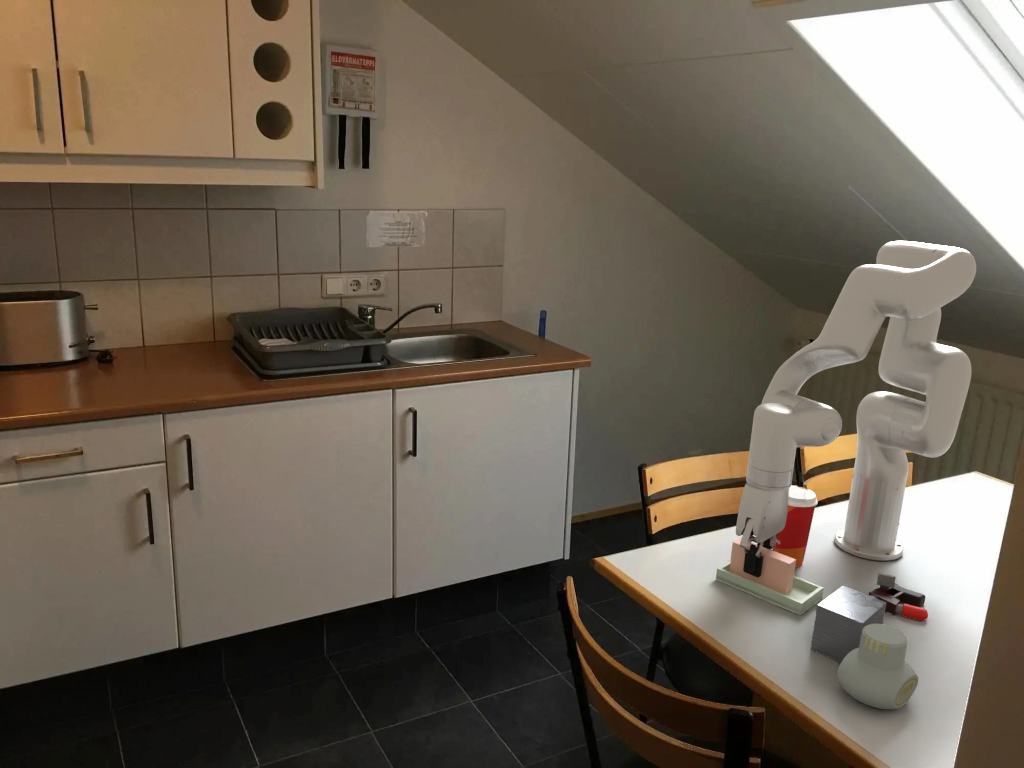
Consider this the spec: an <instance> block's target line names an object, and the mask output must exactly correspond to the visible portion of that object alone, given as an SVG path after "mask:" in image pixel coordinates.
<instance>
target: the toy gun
mask: <svg viewBox="0 0 1024 768" xmlns="http://www.w3.org/2000/svg"><path fill="white" fill-rule="evenodd" d="M896 579H897V578H896V576H895V575H892V574H887V573H882V572H878V574H877V579H876V580H877V581H876V585H878V586H879V587H877V588H875V589H872V590H871V591H869V592H868V594H867V595H868V596H871V597H874V598H876V599H879V600H881V601H884V602H887V603H886V609H885V613H888V614H890V615H892V616H896V614H897V613H898V614H901V616H902V617H905V618H909V619H914V620H917V621H926V620H927V619H928V618H929V617H928V616H929V612H928V610H927V609H925V608H924V607H922V606H924V605H925V601H926V595H925V594H923V593H920V592H917V591H914V590H912V589H907V588H905V587H904V586H900V585H899V584H898V583H896ZM902 603H903V604H902Z"/></svg>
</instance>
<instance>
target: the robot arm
mask: <svg viewBox="0 0 1024 768" xmlns="http://www.w3.org/2000/svg"><path fill="white" fill-rule="evenodd" d="M875 260H876V261H875V264H872V263H871V264H870V263H869V264H862V265H860V266H857V267H855V268H854V269H853V270H852V271H851V272H850V274H849V275H848V277H847V278H846V281H845V284H844V285H843V287H842V289H841V291H840V293H839V295H838V297H837V299H836V300H835V301H836V302H835V304H834V306H833V308H832V309H831V311H830V314H829V315H828V318H827V319H826V322H825V323H824V326H823V328H822V330H821V332H820V334H819V335H818V337H817V338H816V339H815V340H814V341H812V342H811V343H809V344H807V345H805V346H803V347H802V348H801V349H800V350H797V351H796V352H795V353H794V354H793V355H792V356H790V357H789V358H788V359H786V360H785V361H784V362H783V363H782V364H781V365H780V366H779V368H778V369H777V370H776V371H775V374H774V375H773V377H772V379H771V381H770V382H769V385H768V387H767V389H766V391H765V393H764V396H763V398H762V401H761V404H759V405H758V406H757V407H756V408H755V409H754V412H753V419H752V429H751V436H750V444H749V451H748V461H747V469H746V476H745V477H746V479H745V481H746V483H745V485H744V488H743V491H742V494H741V498H740V503H739V508H738V512H737V518H736V519H737V520H736V526H735V535H736V536H738V537H741V536H742V537H741V542H740V547H742V548H744V552H745V559H744V567H743V571H744V572H745V573H748V574H750V575H753V576H755V577H760V576H761V571H762V563H763V556H761V554H762V549H763V547H764V548H767V549H770V550H772V551H774V550H773V549H774V548H775V545H776V538H777V535H778V533H779V532H780V531H782V530H783V529H784V527H785V524H786V519H787V512H788V501H789V488H790V487H791V485H792V483H793V482H792V481H793V474H794V466H795V458H796V453H797V449H798V448H799V447H806V448H818V447H824V446H828V445H829V444H831V443H833V442H834V441H835V440H837V438H838V437H839V435H840V434H841V432H842V428H843V420H842V417H841V414H840V413H839V412H838V411H837V410H836V409H835V408H834V407H832V406H831V405H828V404H825V403H823V402H819V401H817V400H812V399H811V398H807V397H804V396H801V395H798V393H799V392H800V390H801V388H802V386H803V385H804V384H805V383H806V381H808V380H809V379H811V378H812V376H814V375H816V374H817V373H819V372H822V371H824V370H827V369H831V368H834V367H839V366H844V365H850V364H854V363H857V362H861V361H863V360H864V359H866V357H867V355H868V353H869V351H870V349H871V348H872V345H873V343H874V341H875V338H876V336H877V335H878V333H879V331H880V329H881V327H882V325H883V323H884V321H885V319H886V318H887V317H889V321H888V325H887V330H886V333H885V338H884V340H883V341H884V342H883V345H882V349H881V353H880V356H879V362H878V368H877V369H878V376H879V378H880V379H881V380H882V381H883V382H885V383H886V384H889V385H891V386H895V387H897V388H901V389H905V390H908V391H911V392H915V393H919V394H921V395H924V396H925V397H926V398H925V401H922V400H919V399H916V398H913V397H909V396H906V395H903V394H900V393H897V392H896V393H895V392H890V391H882V390H881V391H874V392H871V393H868V394H866V395H865V396H864V397H863V398H862V400H861V401H860V402H859V404H858V407H857V410H856V417H855V418H856V419H855V420H856V437H857V438H856V439H857V440H856V442H857V445H856V454H855V461H854V467H853V473H852V479H851V485H850V493H849V499H848V504H847V505H848V506H847V512H846V518H845V523H844V528H842V529H840V530H837V532H836V533H835V534H834V542H835V544H836V545H837V546H838V548H840V549H841V550H842V551H844V552H846V553H848V554H850V555H853V556H856V557H858V558H863V559H866V560H871V561H883V562H885V561H893V560H894V561H895V560H896V559H899V558H901V557H902V556H903V552H904V546H903V544H902V543H901V542H900V541H899V540H898V539H897V536H898V532H899V526H900V519H901V518H900V517H901V514H902V507H903V501H904V496H905V490H906V484H907V481H908V480H907V479H908V474H909V462H908V456H907V453H906V451H907V452H911V453H914V454H916V455H920V456H923V457H927V458H938V457H941V456H943V455H944V454H946V453H947V451H949V449H950V447H952V446H951V445H953V442H954V440H955V437H956V434H957V431H958V427H959V424H960V420H961V417H962V412H963V410H964V406H965V403H966V399H967V396H968V391H969V389H970V388H969V387H970V384H971V380H972V364H971V360H970V358H969V356H968V355H967V353H965V352H964V351H963V350H962V349H959V348H957V347H954V346H949V345H945V344H941V343H938V342H937V340H938V339H937V338H938V333H939V329H940V324H941V319H942V309H941V308H942V307H944V306H946V305H947V304H949V303H951V302H952V301H954V300H956V299H958V298H959V297H960V296H961V295H963V294H964V293H965V292H966V291H967V290H968V289H969V288H970V287H971V285H972V283H973V282H974V279H975V277H976V274H977V263H976V260H975V257H974V255H973V254H972V253H971V252H970V251H968V250H967V249H964V248H960V247H956V246H950V245H949V246H948V245H941V244H933V243H928V242H927V243H925V242H918V241H908V240H895V241H889V242H887V243H884V244H883V245H882V246H881V247H880V248H879V250H878V251H877V255H876V259H875ZM751 543H754V544H756V545H757V547H756V546H755V545H754V544H751Z"/></svg>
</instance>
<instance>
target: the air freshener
mask: <svg viewBox="0 0 1024 768" xmlns="http://www.w3.org/2000/svg"><path fill="white" fill-rule="evenodd" d="M907 647H908V638H907V636H906V635H905V634H904V633H903V632H902V631H901V630H899V629H897V628H895V627H894V626H891V625H887V624H885V623H883V624H869V625H867V626H865V627H864V628H863V629H862V635H861V640H860V646H859V648H856V649H854V650H852V651H851V652H850V653H848V654H847V656H846V657H845V658H844V659H843V661H842V662H841V663H840V664H839V666H838V668H837V672H836V676H837V679H838V682H839V684H840V685H841V687H842V688H843V689H844V690H845V692H846V693H848V695H850V696H851V697H853V698H854V699H855V700H856V701H858V702H860V703H862V704H864V705H866V706H869V707H872V708H877V709H882V710H896V709H901V708H902V707H903V706H905V704H907V702H909V700H910V699H911V698H912V696H913V694H914V692H915V691H916V689H917V686H918V684H919V683H918V682H919V677H918V674H917V673H916V671H915V670H914V668H913V667H912V666H911V665H910V664H909V663H908V662H907V661H906V660H905V659H906V658H905V657H906V652H907Z"/></svg>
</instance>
